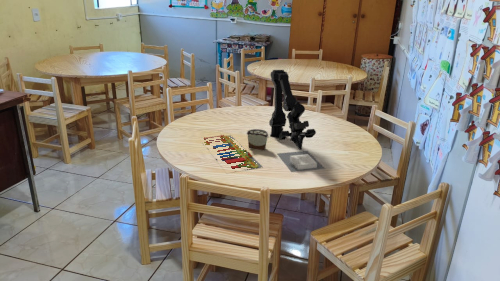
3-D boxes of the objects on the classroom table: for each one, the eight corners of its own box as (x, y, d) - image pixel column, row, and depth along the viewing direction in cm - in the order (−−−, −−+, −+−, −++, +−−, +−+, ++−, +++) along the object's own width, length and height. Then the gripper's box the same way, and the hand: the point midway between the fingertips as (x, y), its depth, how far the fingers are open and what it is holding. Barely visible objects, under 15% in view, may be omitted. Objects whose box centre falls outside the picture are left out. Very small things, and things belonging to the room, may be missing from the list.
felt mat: (276, 154, 194) (276, 153, 194) (307, 151, 199) (307, 150, 199) (291, 172, 175) (291, 172, 174) (325, 169, 179) (325, 168, 179)
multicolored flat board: (263, 163, 178) (226, 170, 171) (263, 168, 179) (226, 174, 172) (230, 132, 216) (199, 136, 209) (230, 136, 217) (199, 140, 210)
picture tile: (290, 155, 186) (298, 165, 176) (308, 154, 188) (317, 163, 178) (289, 160, 187) (297, 169, 177) (307, 158, 189) (316, 167, 179)
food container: (270, 147, 202) (271, 130, 198) (267, 151, 197) (268, 134, 193) (249, 143, 206) (250, 127, 202) (246, 147, 200) (246, 131, 197)
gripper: (282, 116, 180) (288, 145, 175) (316, 114, 185) (323, 142, 179) (276, 125, 190) (281, 153, 185) (308, 123, 195) (315, 150, 189)
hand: (300, 149), depth 184 cm, fingers closed
